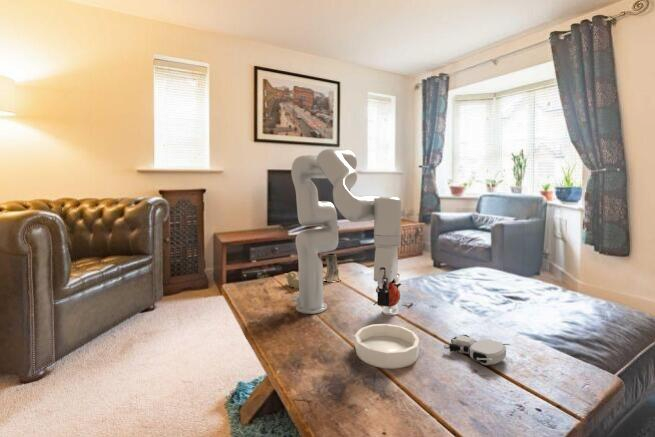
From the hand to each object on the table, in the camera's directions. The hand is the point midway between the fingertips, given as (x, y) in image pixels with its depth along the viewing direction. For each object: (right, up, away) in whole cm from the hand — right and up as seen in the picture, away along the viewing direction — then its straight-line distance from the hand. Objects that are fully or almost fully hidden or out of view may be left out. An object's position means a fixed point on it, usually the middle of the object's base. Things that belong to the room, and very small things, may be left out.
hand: (387, 300), depth 95 cm
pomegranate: (0, -2, 0) cm, 2 cm away
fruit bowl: (0, -15, +2) cm, 16 cm away
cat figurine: (-33, -10, +64) cm, 73 cm away
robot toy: (+25, -16, -1) cm, 30 cm away
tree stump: (-15, -8, +75) cm, 77 cm away
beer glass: (+7, -13, +31) cm, 34 cm away
